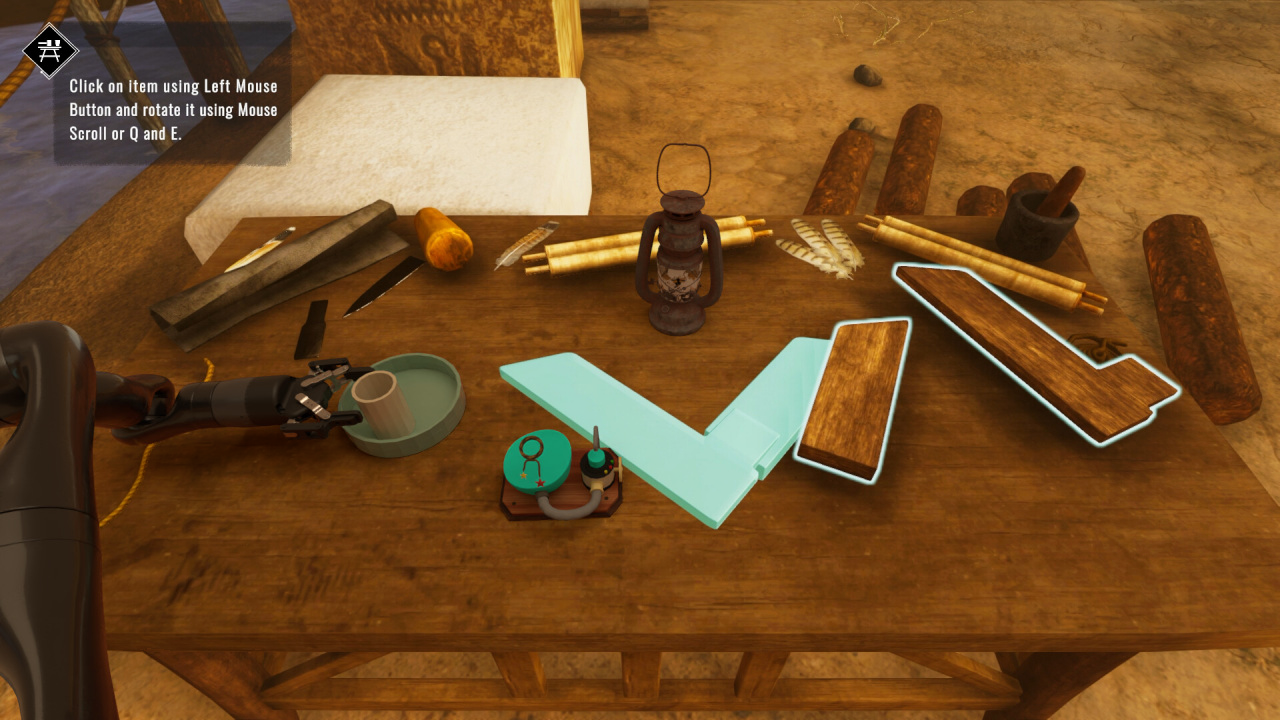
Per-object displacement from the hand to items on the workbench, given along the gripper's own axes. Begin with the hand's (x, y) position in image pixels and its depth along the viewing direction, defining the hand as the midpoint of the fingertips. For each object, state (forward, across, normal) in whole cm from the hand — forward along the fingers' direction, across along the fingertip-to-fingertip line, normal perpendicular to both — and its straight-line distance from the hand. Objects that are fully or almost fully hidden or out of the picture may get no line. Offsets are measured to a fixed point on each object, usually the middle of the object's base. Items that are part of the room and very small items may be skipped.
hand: (368, 394), depth 87 cm
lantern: (+50, +23, +9) cm, 56 cm away
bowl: (+2, +4, +9) cm, 10 cm away
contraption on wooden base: (+28, -14, +9) cm, 33 cm away
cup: (+1, 0, +8) cm, 8 cm away
